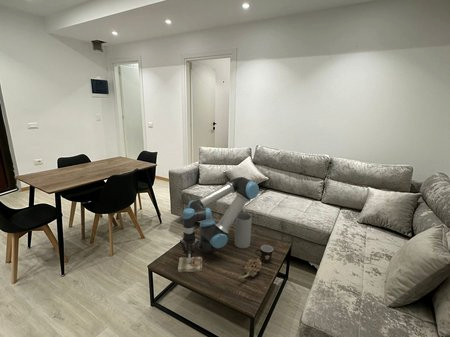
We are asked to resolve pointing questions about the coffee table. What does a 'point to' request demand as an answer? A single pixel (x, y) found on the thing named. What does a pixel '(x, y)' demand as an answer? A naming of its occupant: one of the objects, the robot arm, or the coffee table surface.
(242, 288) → the coffee table surface
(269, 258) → the coffee mug
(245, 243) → the cylinder vase
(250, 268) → the dried lotus pod
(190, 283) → the coffee table surface
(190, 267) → the block
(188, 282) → the coffee table surface
